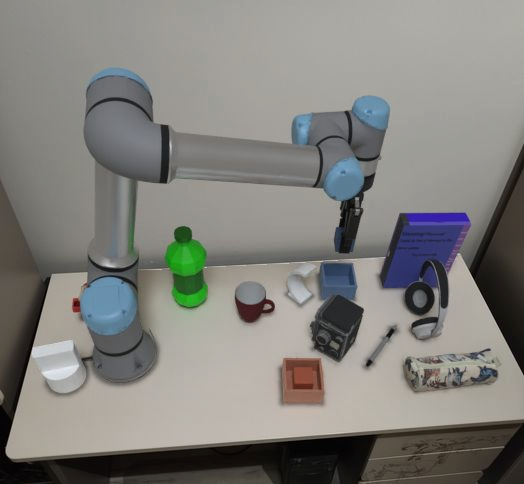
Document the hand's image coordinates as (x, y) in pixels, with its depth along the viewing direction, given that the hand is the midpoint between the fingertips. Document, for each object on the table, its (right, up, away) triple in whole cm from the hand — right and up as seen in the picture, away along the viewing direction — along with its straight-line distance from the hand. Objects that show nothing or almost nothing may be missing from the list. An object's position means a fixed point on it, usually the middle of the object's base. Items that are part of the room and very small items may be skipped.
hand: (342, 245), depth 126 cm
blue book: (+23, -9, +17) cm, 30 cm away
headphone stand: (-11, -13, +13) cm, 21 cm away
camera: (-3, -26, +2) cm, 26 cm away
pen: (+11, -26, +2) cm, 28 cm away
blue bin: (0, -10, +15) cm, 18 cm away
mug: (-23, -19, +7) cm, 30 cm away
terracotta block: (-11, -35, -7) cm, 37 cm away
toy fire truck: (-67, -17, +7) cm, 70 cm away
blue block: (0, 0, 0) cm, 0 cm away
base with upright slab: (-68, -33, -7) cm, 76 cm away
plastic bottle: (-41, -14, +10) cm, 44 cm away
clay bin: (-11, -35, -7) cm, 38 cm away
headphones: (+22, -20, +8) cm, 31 cm away
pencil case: (+24, -34, -4) cm, 42 cm away
